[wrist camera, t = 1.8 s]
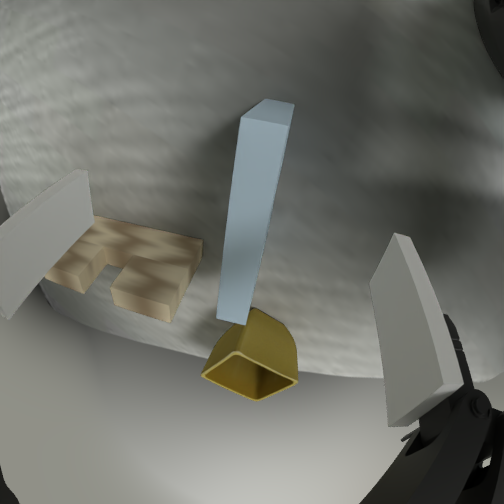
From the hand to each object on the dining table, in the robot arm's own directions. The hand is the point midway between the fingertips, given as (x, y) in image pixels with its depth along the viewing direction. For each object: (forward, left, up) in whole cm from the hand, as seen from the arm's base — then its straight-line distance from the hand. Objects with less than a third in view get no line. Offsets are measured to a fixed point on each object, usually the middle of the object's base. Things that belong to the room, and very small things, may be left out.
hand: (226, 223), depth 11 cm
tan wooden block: (+19, +1, -16) cm, 25 cm away
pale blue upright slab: (+3, +4, -16) cm, 16 cm away
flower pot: (+15, +20, -16) cm, 29 cm away
